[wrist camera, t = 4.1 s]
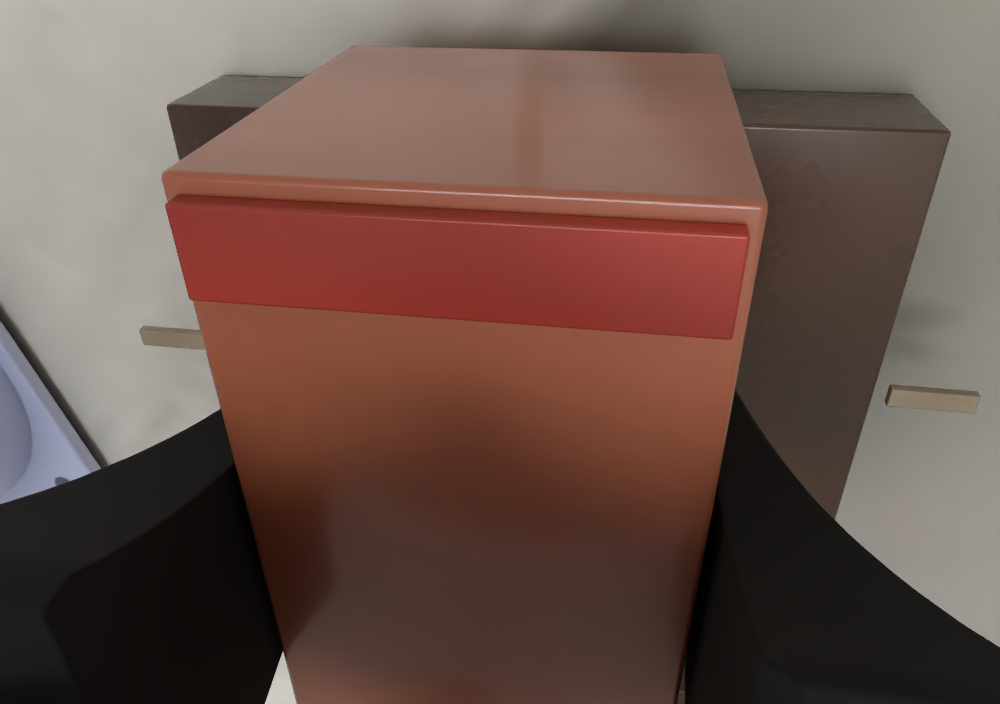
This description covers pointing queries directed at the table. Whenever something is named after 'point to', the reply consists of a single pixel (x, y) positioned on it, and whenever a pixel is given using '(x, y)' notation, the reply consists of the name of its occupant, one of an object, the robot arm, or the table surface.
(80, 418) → the table surface
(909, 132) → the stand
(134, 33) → the table surface
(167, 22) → the table surface
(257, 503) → the orange rectangular box
